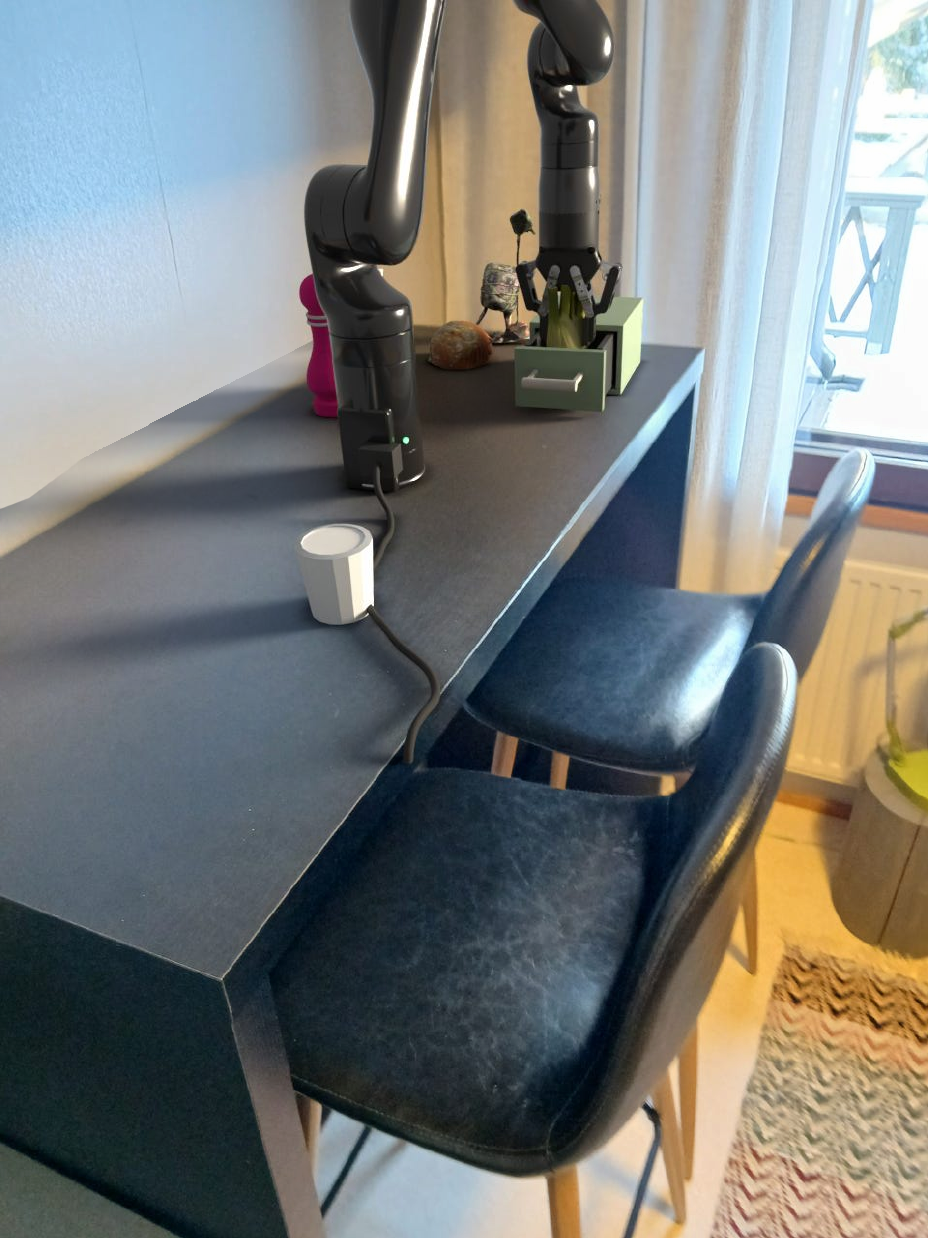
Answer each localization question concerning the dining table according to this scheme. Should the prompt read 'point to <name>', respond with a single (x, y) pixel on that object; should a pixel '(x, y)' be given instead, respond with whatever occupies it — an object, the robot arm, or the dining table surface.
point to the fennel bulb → (565, 319)
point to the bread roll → (460, 346)
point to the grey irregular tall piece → (506, 287)
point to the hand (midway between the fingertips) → (567, 343)
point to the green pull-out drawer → (565, 374)
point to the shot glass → (337, 571)
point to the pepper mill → (319, 353)
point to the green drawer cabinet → (629, 326)
